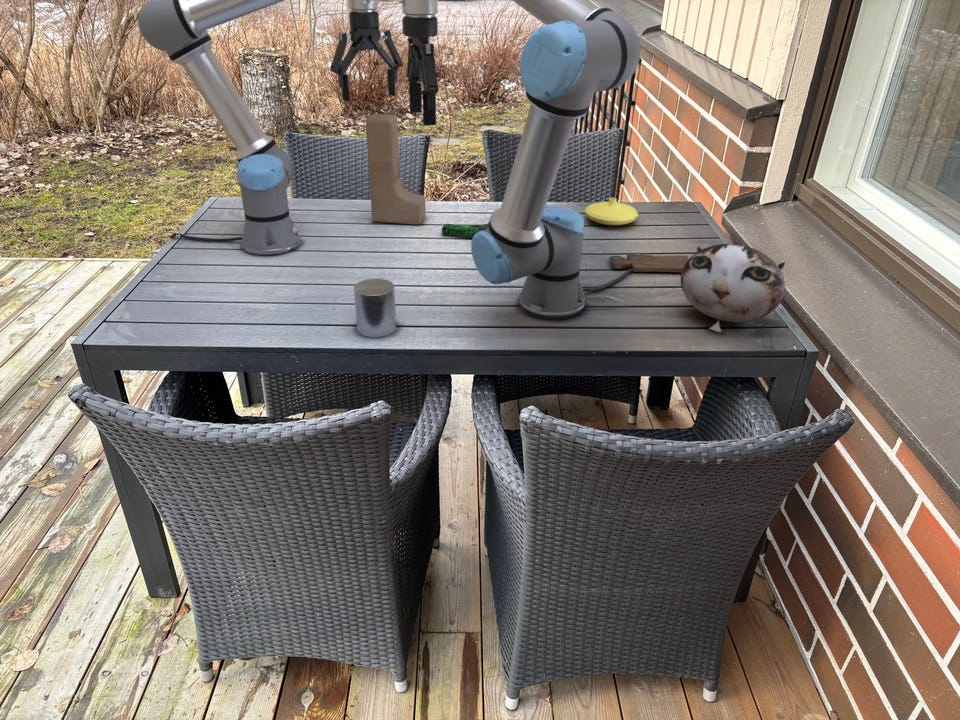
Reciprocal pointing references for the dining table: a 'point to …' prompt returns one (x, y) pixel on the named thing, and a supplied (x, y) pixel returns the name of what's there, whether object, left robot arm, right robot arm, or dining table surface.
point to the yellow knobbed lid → (611, 213)
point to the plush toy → (732, 283)
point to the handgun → (463, 230)
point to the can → (375, 307)
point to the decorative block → (389, 175)
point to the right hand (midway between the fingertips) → (422, 118)
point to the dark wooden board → (650, 263)
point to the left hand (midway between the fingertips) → (369, 97)
